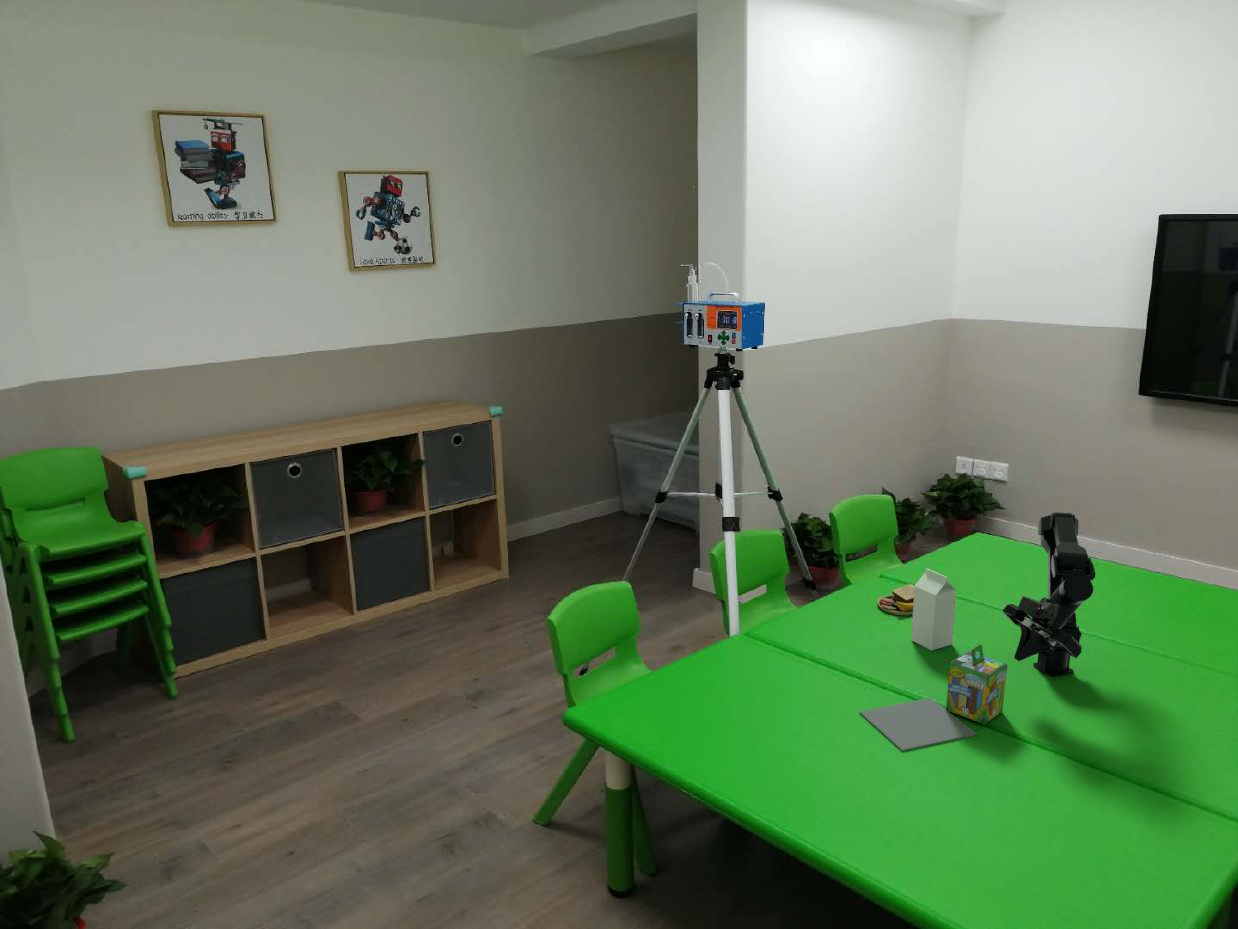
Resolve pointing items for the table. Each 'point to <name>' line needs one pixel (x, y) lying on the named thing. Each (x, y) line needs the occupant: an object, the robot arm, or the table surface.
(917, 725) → the topple mat
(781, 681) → the table surface
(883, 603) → the toy sandwich meal
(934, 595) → the milk carton
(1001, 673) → the chalk box
